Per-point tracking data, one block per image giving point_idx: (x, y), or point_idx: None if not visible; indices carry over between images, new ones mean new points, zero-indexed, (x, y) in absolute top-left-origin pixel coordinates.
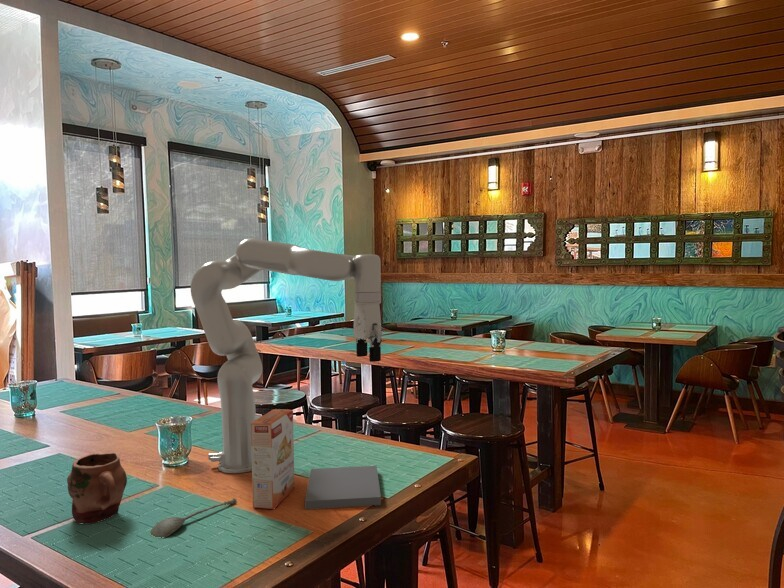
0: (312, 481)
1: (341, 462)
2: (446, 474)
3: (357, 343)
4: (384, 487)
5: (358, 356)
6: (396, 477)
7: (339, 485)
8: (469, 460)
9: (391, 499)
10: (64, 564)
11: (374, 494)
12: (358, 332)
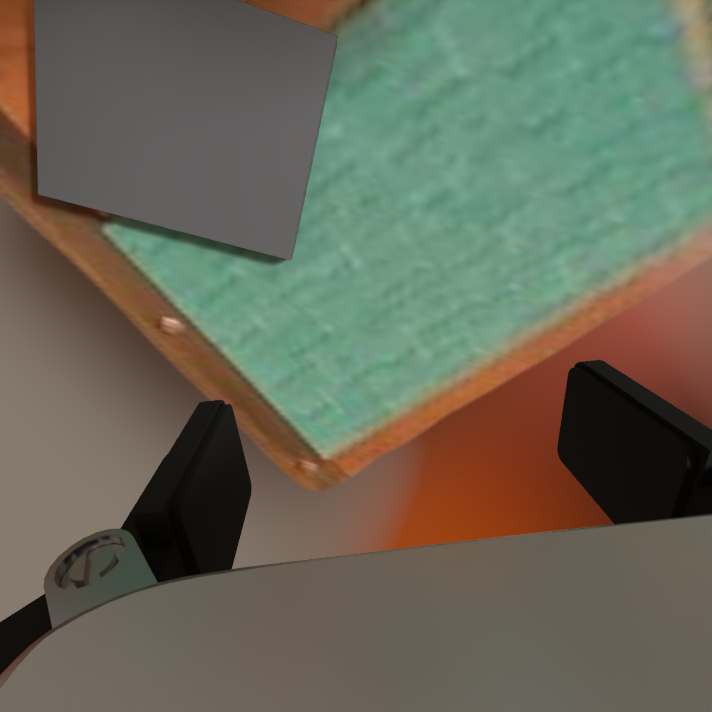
0: (212, 7)
1: (418, 182)
2: None
3: (702, 454)
4: (177, 243)
5: (574, 372)
6: (240, 295)
7: (153, 96)
8: (296, 481)
9: (89, 233)
10: None
11: (59, 182)
12: (590, 698)
